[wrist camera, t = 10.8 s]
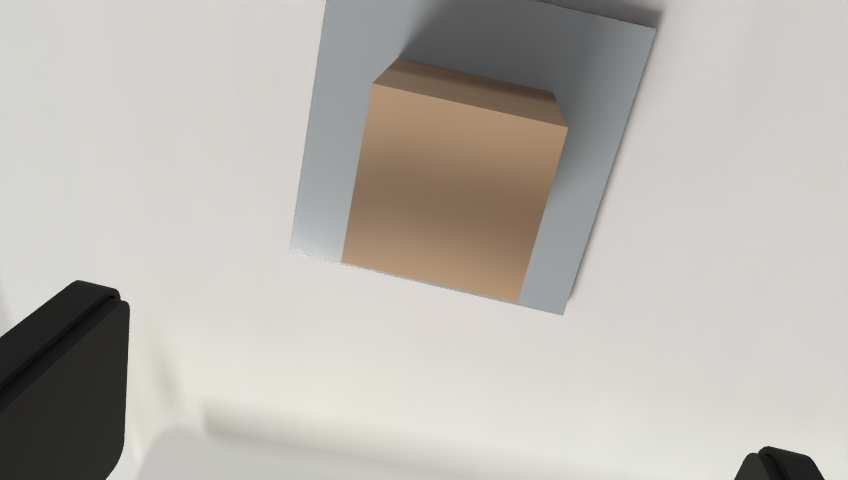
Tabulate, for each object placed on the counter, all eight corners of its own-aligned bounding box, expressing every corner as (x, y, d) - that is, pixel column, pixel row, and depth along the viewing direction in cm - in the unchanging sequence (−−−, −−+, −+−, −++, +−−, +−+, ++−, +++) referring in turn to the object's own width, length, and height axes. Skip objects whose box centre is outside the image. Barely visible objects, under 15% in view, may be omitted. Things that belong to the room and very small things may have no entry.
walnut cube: (397, 57, 26) (372, 83, 21) (552, 92, 26) (568, 127, 21) (370, 203, 29) (340, 262, 23) (512, 236, 29) (517, 302, 23)
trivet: (337, -45, 26) (333, -45, 25) (652, 27, 26) (656, 29, 25) (293, 245, 31) (289, 251, 30) (561, 307, 30) (562, 315, 30)
